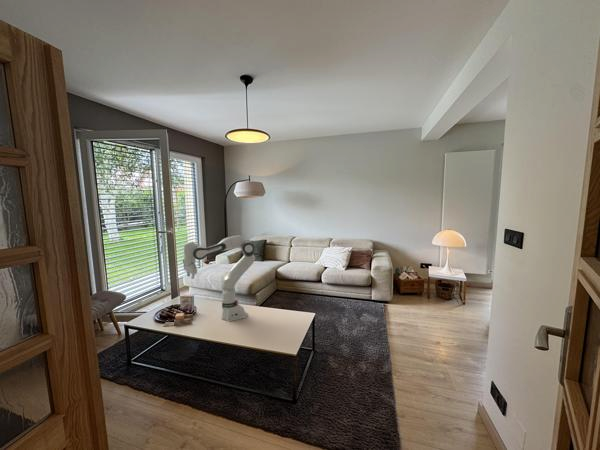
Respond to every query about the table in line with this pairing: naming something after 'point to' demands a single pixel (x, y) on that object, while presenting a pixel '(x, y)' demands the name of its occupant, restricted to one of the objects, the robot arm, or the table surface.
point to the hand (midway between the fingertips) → (190, 277)
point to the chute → (181, 321)
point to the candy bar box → (187, 302)
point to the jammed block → (179, 316)
